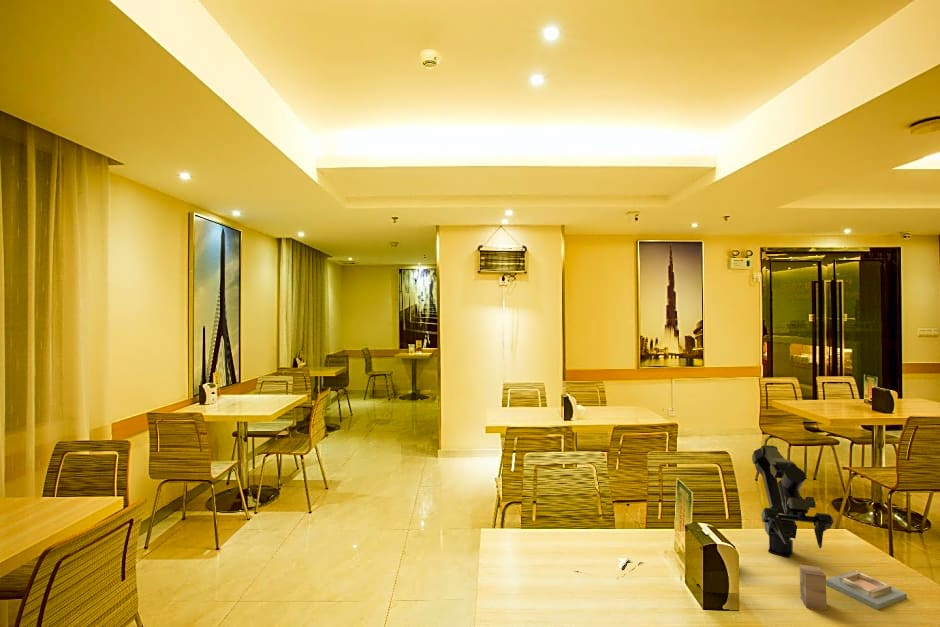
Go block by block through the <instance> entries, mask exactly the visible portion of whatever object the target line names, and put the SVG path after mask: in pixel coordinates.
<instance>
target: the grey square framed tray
mask: <svg viewBox="0 0 940 627" xmlns="http://www.w3.org/2000/svg"><path fill="white" fill-rule="evenodd" d="M826 586H828V587H830V588H832V589H834V590H836V591H838V592H840V593H842V594H844V595H847V596H848V597H850V598H852V597H853V599H854V600H857V601H859V602H861V603H863V604H865V605H867V606H870V607H871V608H873V609H874V610H875V609H876V610H881V609H883V608H885V607H889V606H891V605H893V604H896V603H899V602H901V601H904V600H906V599H907V598H908V597H907V592H904V591H902V590H900V589H897V588H895V587H893V586H892V585H890V584H888V583H886V582H883V581H882V580H879V579H876V578H874V577H872V576H869V575H867V574H865V573H863V572H860V571H856V570H852V571H849V572H845V573H842V574H840V575H836V576H834V577H830V578H826Z"/></svg>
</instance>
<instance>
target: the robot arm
mask: <svg viewBox="0 0 940 627" xmlns="http://www.w3.org/2000/svg"><path fill="white" fill-rule="evenodd" d="M751 460H752V464H753V465H754V467H755V471H757V473H759V474H760V475H761V476H762V480H763V485H764V489H765V492H766V497H767V498H766V499H767V501H768V505H769V507H764V508H763V510H762V511H761V515H760V516H761V521H762V523H764V531H765V532H766V535H768V539H769V540H768V542H769V543H768V544H769V546H768V550H767V552H768V553H771V554H774V555H778V556H782V557H785V558H790V557H791V556H792V555H793V553H794V540H792V539H796V538H797V532H798V525H797V522H800V523H813V526H814V528H813V529H814V533H815V534H814V535H815V538H816V543H817V545H818V549H822V547H823V537H824V533H825V532H826V531H827V530H830V529H831V527H832V526H833V524H834V522H835V521H834V518H833V516H832V515H831V514H830V513H823V512H816V513H815V514H814V516H813V515H806V514H808V513H809V511H810V510H811V509H815V508H816V506H817V504H816V501H815V497H814V496H805V498H803V497H802V496H801V491H800V490H801V489H802V487H803V485H804V483H805V481H806V478H807V475H806V473H805V472H804V470H802V469H801V468H799V467H798V466H797V464H796V463H795V462H794V461H792V460H790V459H787V458H786V459H785V458H784V456H783V455H782V453H781V452H779V449H778V447H777V446H775V445H769V444H767V445H766V444H763V445H761V446H760V447H759V448H757V449H756V450H754V451H753V452H752V455H751ZM778 479H780V480H778Z"/></svg>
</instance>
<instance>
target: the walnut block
mask: <svg viewBox="0 0 940 627" xmlns="http://www.w3.org/2000/svg"><path fill="white" fill-rule="evenodd" d="M826 580H827V576H826V574H825V573H824V571H823V570H822V568H821V567H819V566H814V565H804V564H799V585H800V586H799V591H800V594H799V595H800V600H801V601H802V603H803V605H804V606H806V607H805V608H806V609H811V608H813V609H812V610H817V609H822V610H821V611H824V610H827V611H828V609H827V608H828V607H827V585H826Z"/></svg>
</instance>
